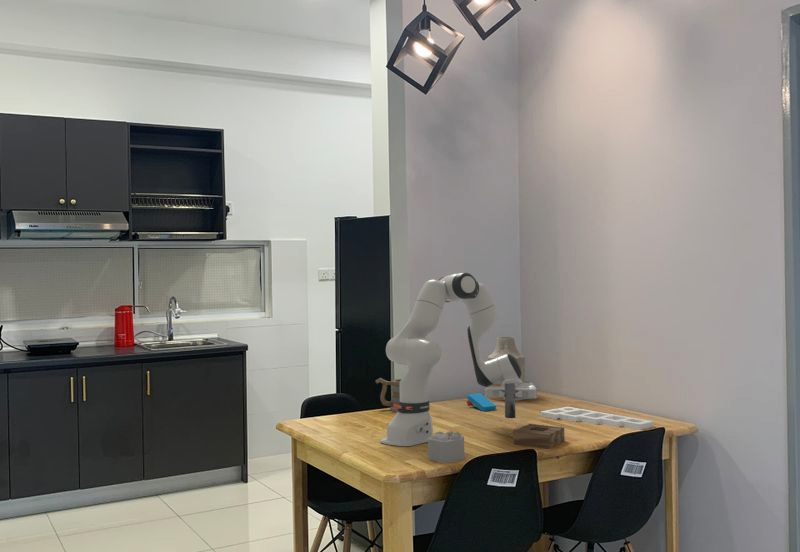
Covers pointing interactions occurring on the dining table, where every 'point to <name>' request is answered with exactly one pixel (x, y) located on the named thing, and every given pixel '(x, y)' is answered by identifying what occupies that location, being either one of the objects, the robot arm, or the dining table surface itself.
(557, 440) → the socket block
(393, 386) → the tankard
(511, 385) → the dark grey rounded rod
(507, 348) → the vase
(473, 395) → the blue and red block
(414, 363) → the robot arm
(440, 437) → the lumpy-topped squat cylinder
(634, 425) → the holder
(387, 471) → the dining table surface
